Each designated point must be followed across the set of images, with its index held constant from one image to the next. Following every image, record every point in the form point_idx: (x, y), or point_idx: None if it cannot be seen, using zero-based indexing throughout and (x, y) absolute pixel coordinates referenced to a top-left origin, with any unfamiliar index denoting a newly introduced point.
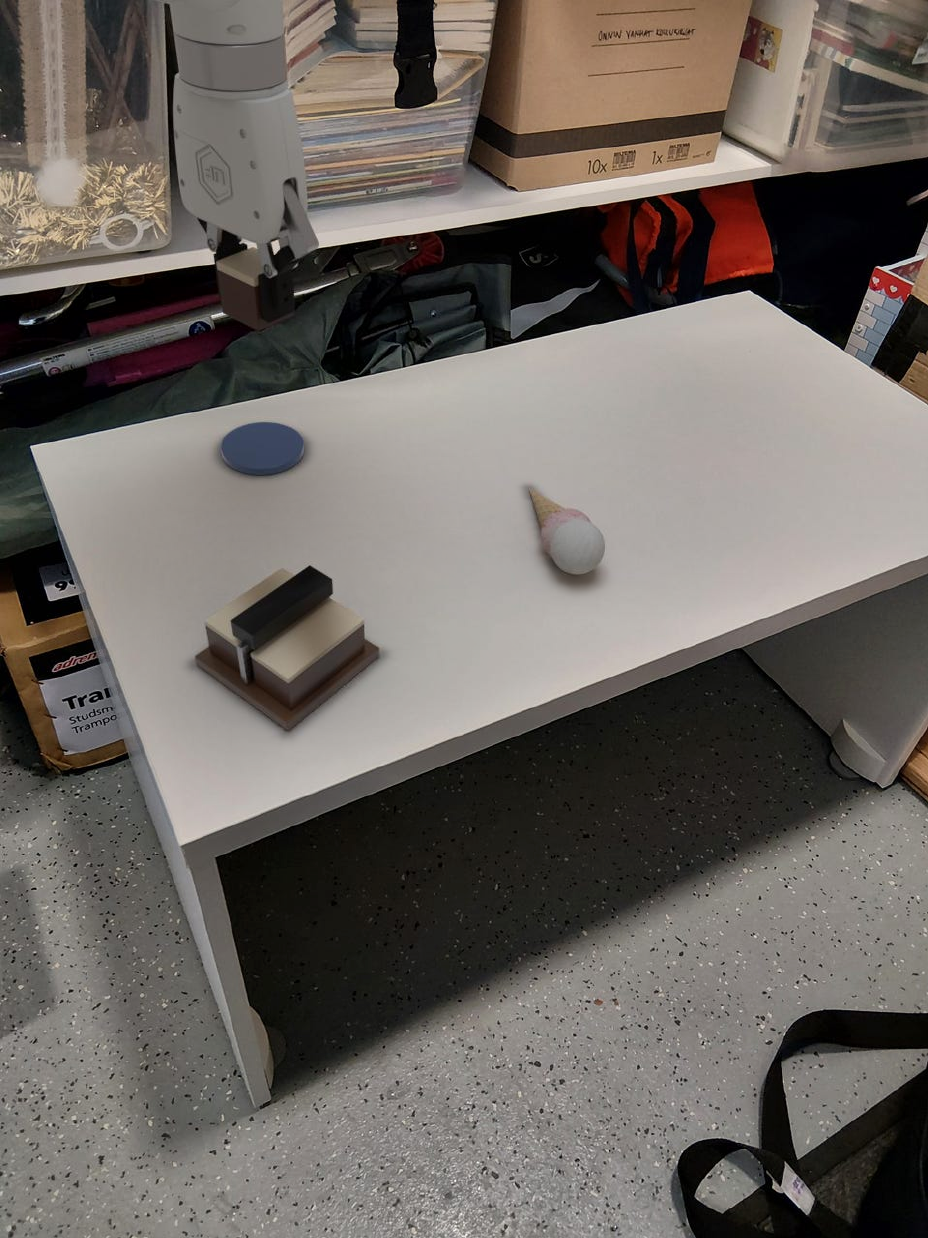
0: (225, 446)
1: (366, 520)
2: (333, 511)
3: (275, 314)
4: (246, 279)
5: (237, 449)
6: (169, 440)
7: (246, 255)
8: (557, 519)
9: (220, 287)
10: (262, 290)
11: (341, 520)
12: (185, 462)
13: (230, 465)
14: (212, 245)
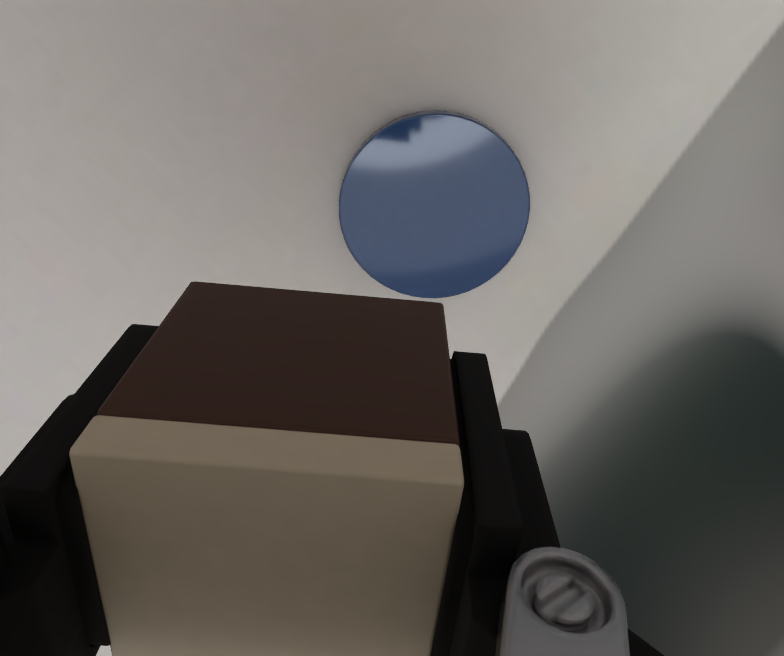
0: (499, 153)
1: (83, 150)
2: (156, 130)
3: None
4: (155, 436)
5: (468, 162)
6: (650, 102)
7: (371, 618)
8: None
9: (443, 374)
10: (67, 422)
11: (119, 116)
12: (557, 56)
13: (451, 112)
14: (565, 588)
